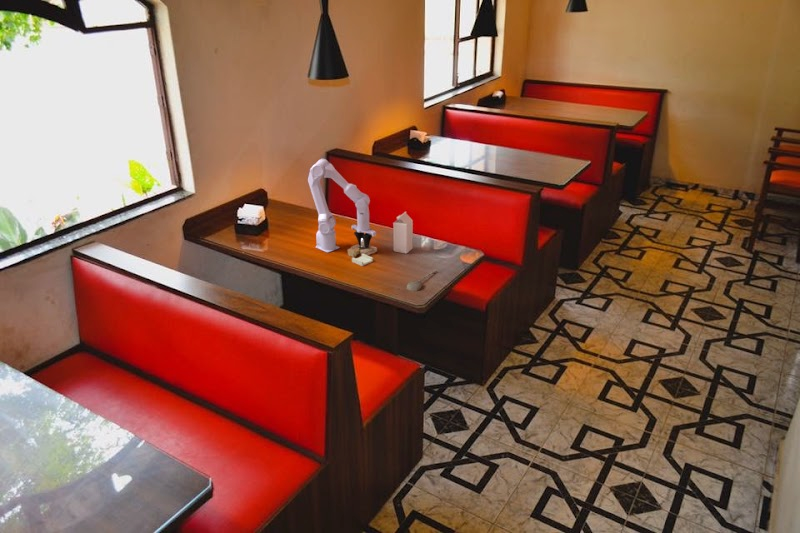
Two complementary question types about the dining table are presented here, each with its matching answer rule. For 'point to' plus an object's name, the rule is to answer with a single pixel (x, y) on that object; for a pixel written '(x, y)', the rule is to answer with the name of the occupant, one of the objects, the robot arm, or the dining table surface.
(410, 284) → the soupspoon
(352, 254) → the block
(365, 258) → the pad
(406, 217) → the milk carton
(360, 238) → the peg
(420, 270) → the dining table surface
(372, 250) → the socket block
